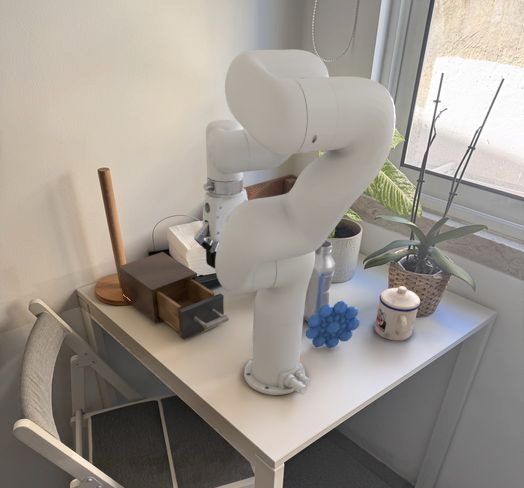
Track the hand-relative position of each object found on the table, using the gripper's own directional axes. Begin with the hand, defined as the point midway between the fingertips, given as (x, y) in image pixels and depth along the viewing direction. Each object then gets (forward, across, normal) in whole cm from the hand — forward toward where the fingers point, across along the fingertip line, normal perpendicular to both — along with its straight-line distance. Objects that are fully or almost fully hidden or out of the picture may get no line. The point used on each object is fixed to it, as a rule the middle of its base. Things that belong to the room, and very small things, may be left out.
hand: (225, 260), depth 118 cm
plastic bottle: (+14, +14, -17) cm, 26 cm away
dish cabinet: (+13, -11, +13) cm, 21 cm away
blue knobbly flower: (+14, +9, -26) cm, 31 cm away
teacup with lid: (+14, +24, -33) cm, 43 cm away
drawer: (+12, -10, -1) cm, 16 cm away
